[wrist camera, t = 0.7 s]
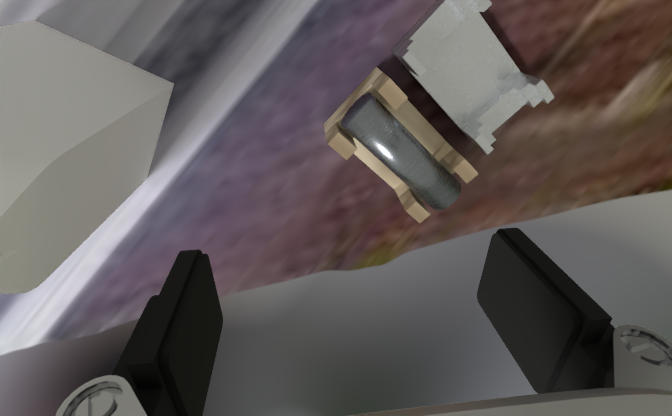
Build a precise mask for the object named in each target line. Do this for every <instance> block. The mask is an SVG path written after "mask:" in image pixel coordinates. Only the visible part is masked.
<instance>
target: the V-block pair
mask: <svg viewBox="0 0 672 416" xmlns="http://www.w3.org/2000/svg"><path fill="white" fill-rule="evenodd" d="M491 5H492V3H491V2H490V0H437V1H436V2H435V4H434V5H433V6H432V7H431V8H430V9H429V10H428V11H427V12H426V13H425V14H424V16H423V17H422V18H421V19H420V20H419V21H418V22H417V23H416V24H415V25H414V26H413V27H412V29H411V30H410V31H409V32H408V33H407V34H406V35H405V36H404V37H403V38H402V39H401V41H400V42H399V43H398V44H397V45H396V46H395V47H394V48H393V49H392V50H391V52H392V53H393V54H394V55H395V56H396V58H397V59H398V60H399V61H400V62H401V63H402V64H403V65H404V67H405V68H406V69H407V70H408V71H409V72H410V73H411V75H412V76H413V77H414V78H415V79H416V80H417V81H418V82H419V84H420V85H421V86H422V87H423V88H424V89H425V90H426V91H427V93H428V94H429V95H430V96H431V97H432V98H433V99H434V100H435V102H436V103H437V104H438V105H439V106H440V107H441V108H442V110H443V111H444V112H445V113H446V114H447V115H448V116H449V117H450V119H451V120H452V121H453V122H454V123H455V124H456V125H457V126H458V128H459V129H460V130H461V131H462V132H463V133H464V134H465V136H466V137H467V138H468V139H469V140H470V141H471V142H473V143H474V144H475V145H476V146H478V147H479V148H480V149H481V150H482V151H484V152H485V153H486V154H487V155H488V154H489V153H490V152H491V151H493V150H494V149H493V148H492V146H491V144H492V143H493V142H494V141H496V139H495V138H494V136H493V135H492V133H493V132H494V131H495V130H496V129H497V128H498V127H500V126H501V125H502V124H503V123H504V122H505V121H506V120H508V119H509V118H510V117H511V116H512V115H513V114H514V113H516V112H517V111H518V110H519V109H520V108H521V107H522V106H524V105H525V104H527V105H529V106H531V107H535V106H536V105H537V104H538V103H540V102H541V101H543V102H545V103H549V102H550V101H551V100H552V99H553V98H554V96H553V94H552V93H551V91H550V90H549V88H548V87H547V85H546V84H545V82H544V81H543V79H540V78H537V77H534V76H531V75H527V74H524V73H521V72H520V70H519V69H518V67H517V66H516V65H515V63H514V62H513V60H512V59H511V57H510V56H509V55H508V53H507V52H506V50H505V49H504V47H503V46H502V45H501V43H500V42H499V40H498V39H497V37H496V36H495V34H494V33H493V32H492V30H491V29H490V27H489V26H488V24H487V23H486V22H485V20H484V19H483V17H482V16H481V14H480V13H479V12H485V11H486V10H487V9H488V8H489V7H490V6H491Z"/></svg>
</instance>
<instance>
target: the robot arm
mask: <svg viewBox="0 0 672 416" xmlns="http://www.w3.org/2000/svg"><path fill="white" fill-rule="evenodd" d="M477 299H478V302H479V304H480V306H481V307H482V309H483V310H484V312H485V314H486V315H487V317H488V318H489V320H490V321H491V323H492V325H493V326H494V328H495V329H496V331H497V332H498V334H499V336H500V337H501V339H502V340H503V342H504V343H505V345H506V347H507V348H508V350H509V351H510V353H511V354H512V356H513V357H514V359H515V361H516V362H517V364H518V365H519V367H520V368H521V370H522V372H523V373H524V375H525V376H526V378H527V379H528V381H529V383H530V384H531V386H532V387H533V389H534V390H535V391H536V392H537V393H538V394H534V395H525V396H515V397H506V398H497V399H488V400H480V401H469V402H461V403H452V404H443V405H434V406H426V407H417V408H408V409H400V410H391V411H382V412H373V413H365V414H356V415H348V416H672V343H671V342H670V341H669V340H668V339H666V338H664V337H663V336H661V335H660V334H658V333H656V332H654V331H651V330H649V329H647V328H643V327H640V326H636V325H621V326H618V327H617V328H616V329H615V328H614V327H613V326H612V325H611V324H610V322H611V320H612V318H611V316H609V315H608V314H607V313H606V312H605V311H604V310H603V309H602V308H601V307H600V306H599V305H598V304H597V303H596V302H595V301H594V300H593V299H592V298H591V297H590V296H589V295H588V294H587V293H586V292H584V291H583V290H582V289H581V288H580V287H579V286H578V285H577V284H576V283H575V282H574V281H573V280H572V279H571V278H570V277H569V276H568V275H567V274H566V273H565V272H564V271H563V270H562V269H560V268H559V267H558V266H557V265H556V264H555V263H554V262H553V261H552V260H551V259H550V258H549V257H548V256H547V255H546V254H545V253H544V252H543V251H542V250H541V249H540V248H538V246H537V245H535V244H534V243H533V242H532V241H531V240H530V239H529V238H528V237H527V236H526V235H525V234H524V233H523V232H522V231H521V230H520V229H518V228H506V229H499V230H498V231H497V232H496V233H495V234H493V235H492V238H491V242H490V246H489V249H488V253H487V257H486V261H485V265H484V269H483V272H482V276H481V280H480V284H479V288H478V292H477ZM222 325H223V316H222V311H221V307H220V303H219V299H218V294H217V290H216V286H215V282H214V278H213V273H212V269H211V265H210V261H209V257H208V255H207V254H202V252H201V250H186V251H180V252H179V254H178V256H177V258H176V260H175V262H174V265H173V267H172V269H171V271H170V273H169V275H168V277H167V279H166V281H165V284H164V286H163V288H162V290H161V292H160V294H159V295H154V296H152V297H151V298H150V300H149V301H148V303H147V305H146V307H145V309H144V311H143V313H142V315H141V317H140V319H139V321H138V323H137V325H136V327H135V329H134V331H133V333H132V335H131V337H130V339H129V341H128V343H127V345H126V347H125V349H124V351H123V353H122V355H121V357H120V359H119V361H118V363H117V365H116V367H115V369H114V371H113V373H112V375H108V376H103V377H99V378H95V379H93V380H91V381H89V382H87V383H85V384H84V385H82V386H81V387H79V388H78V389H76V390H75V391H74V392H73V393H72V394H71V395H70V396H69V397H68V398H67V399H66V400H65V401H64V402H63V404H62V405H61V406H60V408H59V409H58V411H57V413H56V416H202V415H203V410H204V406H205V401H206V397H207V392H208V387H209V383H210V378H211V374H212V370H213V366H214V361H215V357H216V352H217V348H218V343H219V339H220V334H221V330H222Z"/></svg>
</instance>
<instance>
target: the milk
mask: <svg viewBox="0 0 672 416" xmlns="http://www.w3.org/2000/svg"><path fill="white" fill-rule="evenodd" d="M173 86H174V83H172V82H169V81H167V80H165V79H163V78H161V77H158V76H156V75H154V74H152V73H150V72H147V71H145V70H143V69H141V68H139V67H136V66H134V65H132V64H130V63H128V62H125V61H123V60H121V59H119V58H117V57H114V56H112V55H110V54H108V53H106V52H103V51H101V50H99V49H97V48H95V47H92V46H90V45H88V44H86V43H84V42H81V41H79V40H77V39H75V38H73V37H70V36H68V35H66V34H64V33H62V32H59V31H57V30H55V29H53V28H51V27H48V26H46V25H44V24H42V23H40V22H37V21H35V20H32V21H27V22H21V23H16V24H10V25H5V26H0V294H20V293H25V292H28V291H31V290H33V289H34V288H36V287H38V286H39V285H40V284H41V283H42V282H44V281H45V280H46V279H47V278H48V277H49V276H50V275H51V274H52V273H53V272H54V271H55V270H56V269H57V268H58V267H59V266H60V265H61V264H62V263H63V262H64V261H65V260H66V259H67V258H68V257H69V256H70V255H71V254H72V253H73V252H74V251H75V250H76V249H77V248H78V247H79V246H80V245H81V244H82V243H83V242H84V241H85V240H86V239H87V238H88V237H89V236H90V235H91V234H92V233H93V232H94V231H95V230H96V229H97V228H98V227H99V226H100V225H101V224H102V223H103V222H104V221H105V220H106V219H107V218H108V217H109V216H110V215H111V214H112V213H113V212H114V211H115V210H116V209H117V208H118V207H119V206H120V205H121V204H122V203H123V202H124V201H125V200H126V199H127V198H128V197H129V196H130V195H131V194H132V193H133V192H134V191H135V190H136V189H137V188H138V187H139V186H140V185H141V184H142V183H143V182H144V181H145V180H146V179H147V177H148V174H149V170H150V167H151V163H152V160H153V156H154V153H155V149H156V146H157V142H158V139H159V135H160V132H161V128H162V125H163V121H164V118H165V114H166V111H167V107H168V104H169V100H170V97H171V93H172V90H173Z"/></svg>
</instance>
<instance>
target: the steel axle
mask: <svg viewBox="0 0 672 416" xmlns="http://www.w3.org/2000/svg"><path fill="white" fill-rule="evenodd" d="M341 126H342V127H344V128H345V129H346V130H347V131H348V132H349V133H350V134H351V135H352V136H353V137H354V138H356V139H357V140H358V141H359V142H360V143H361V144H362V145H363V146H364V147H365V148H367V149H368V150H369V151H370V152H371V153H372V154H373V155H374V156H375V157H376V158H378V159H379V160H380V161H381V162H382V163H383V164H384V165H385V166H386V167H387V168H388V169H390V170H391V171H392V172H393V173H394V174H395V175H396V176H397V177H398V178H399V179H401V180H402V181H403V182H404V183H405V184H406V185H407V186H408V187H409V188H410V189H412V190H413V191H414V192H415V193H416V194H417V195H418V196H419V197H420V198H421V199H422V200H424V201H425V202H426V203H427V204H428V205H429V206H430V207H431V208H432V209H434V210H442V209H445V208H447V207H448V206H450V205H451V204H452V203H454V202H455V200H456V199H457V198H458V196H459V194H460V192H461V184H460V183H459V182H458V181H457V180H456V179H455V178H454V177H453V176H452V174H451V173H450V172H449V171H448V170H447V169H446V168H445V167H444V166H443V165H442V164H441V163H440V162H439V161H438V160H437V159H436V158H435V157H434V156H433V155H432V154H431V153H430V152H429V151H428V150H427V149H426V148H425V147H424V146H423V145H422V144H421V143H420V142H419V141H418V140H417V139H416V138H415V137H414V136H413V135H412V134H411V133H410V132H409V131H408V130H407V129H406V128H405V127H404V126H403V125H402V124H401V123H400V122H399V121H398V120H397V119H396V118H395V116H394V115H393V114H392V113H391V112H390V111H389V110H388V109H387V108H386V107H385V106H384V105H383V104H382V103H381V102H380V101H379V100H378V99H377V98H376V97H375V96H374V95H373V94H372V93H371V92H368V93H366V94H364V95H362V96H361V97H360V98H359V99H357V100H356V101H355V102H354V103H353V104H352V105H351V107H350V108H349V109H348V110H347V112H346V113H345V115H344V117H343V119H342V121H341Z"/></svg>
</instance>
